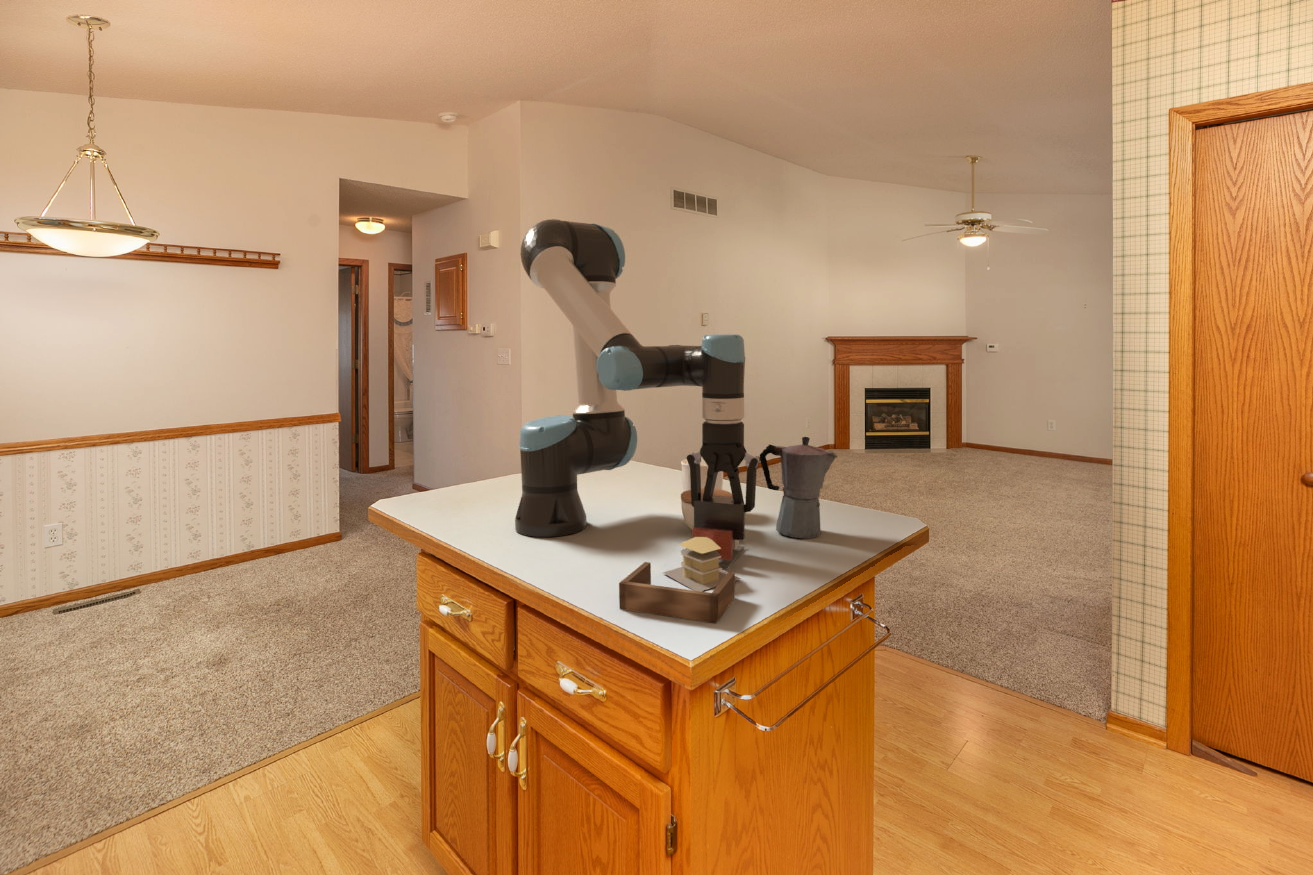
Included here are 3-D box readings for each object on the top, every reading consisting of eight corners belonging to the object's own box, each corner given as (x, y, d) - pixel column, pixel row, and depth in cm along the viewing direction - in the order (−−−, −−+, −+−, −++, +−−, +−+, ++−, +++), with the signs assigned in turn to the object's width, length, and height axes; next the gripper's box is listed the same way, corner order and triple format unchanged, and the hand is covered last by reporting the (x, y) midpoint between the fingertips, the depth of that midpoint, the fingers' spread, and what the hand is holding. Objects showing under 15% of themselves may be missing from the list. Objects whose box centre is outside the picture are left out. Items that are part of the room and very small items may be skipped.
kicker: (686, 555, 118) (686, 506, 117) (702, 540, 127) (702, 494, 125) (736, 561, 115) (737, 510, 113) (749, 545, 123) (750, 498, 122)
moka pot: (836, 541, 130) (839, 441, 127) (757, 538, 133) (758, 439, 130) (833, 528, 139) (836, 433, 136) (759, 525, 142) (760, 432, 139)
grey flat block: (694, 565, 117) (694, 561, 117) (713, 546, 128) (713, 543, 128) (727, 569, 115) (727, 565, 115) (743, 549, 126) (743, 546, 126)
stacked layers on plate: (741, 578, 110) (740, 547, 108) (697, 592, 105) (696, 559, 104) (704, 560, 118) (704, 531, 117) (662, 572, 113) (661, 542, 112)
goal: (619, 608, 99) (619, 583, 98) (645, 585, 108) (644, 561, 108) (716, 623, 93) (716, 596, 93) (734, 597, 103) (734, 572, 102)
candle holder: (731, 510, 154) (731, 460, 152) (711, 520, 146) (711, 467, 144) (694, 505, 159) (694, 456, 158) (673, 514, 151) (672, 463, 149)
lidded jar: (718, 540, 132) (718, 494, 130) (671, 532, 137) (671, 488, 136) (740, 527, 141) (741, 484, 139) (696, 520, 146) (696, 478, 145)
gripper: (671, 421, 119) (672, 547, 123) (765, 425, 113) (763, 557, 116) (685, 416, 126) (685, 535, 130) (774, 419, 120) (772, 544, 123)
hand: (722, 545), depth 123 cm, fingers closed on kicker, 4 cm apart
